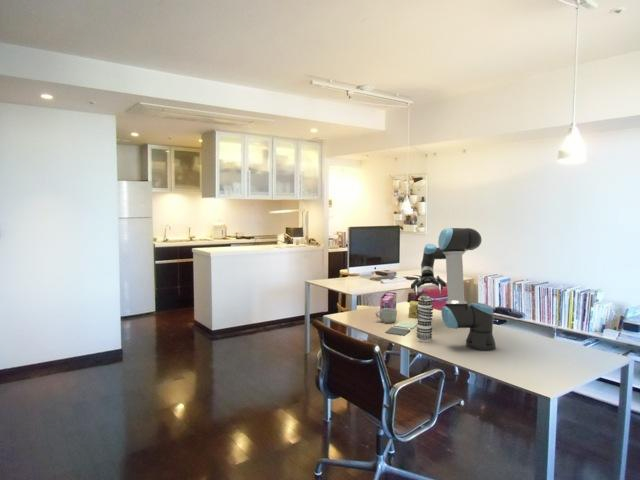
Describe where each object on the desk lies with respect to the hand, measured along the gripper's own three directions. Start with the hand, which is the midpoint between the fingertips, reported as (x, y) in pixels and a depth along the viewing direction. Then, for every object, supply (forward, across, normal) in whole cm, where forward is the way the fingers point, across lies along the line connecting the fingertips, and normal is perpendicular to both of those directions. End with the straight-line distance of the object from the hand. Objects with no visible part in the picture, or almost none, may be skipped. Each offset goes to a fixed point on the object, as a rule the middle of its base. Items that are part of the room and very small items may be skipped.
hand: (428, 292), depth 251 cm
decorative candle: (+16, +5, -21) cm, 27 cm away
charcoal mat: (+5, +21, -23) cm, 31 cm away
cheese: (-31, +11, -38) cm, 51 cm away
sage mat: (-9, +17, -29) cm, 35 cm away
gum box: (-34, +31, -37) cm, 59 cm away
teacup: (-14, +30, -29) cm, 44 cm away
